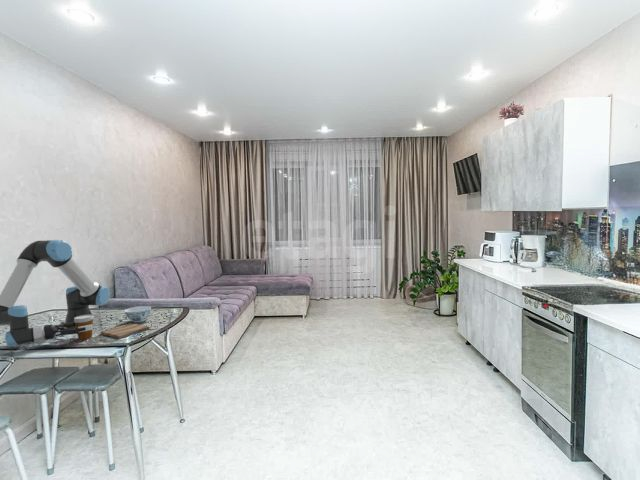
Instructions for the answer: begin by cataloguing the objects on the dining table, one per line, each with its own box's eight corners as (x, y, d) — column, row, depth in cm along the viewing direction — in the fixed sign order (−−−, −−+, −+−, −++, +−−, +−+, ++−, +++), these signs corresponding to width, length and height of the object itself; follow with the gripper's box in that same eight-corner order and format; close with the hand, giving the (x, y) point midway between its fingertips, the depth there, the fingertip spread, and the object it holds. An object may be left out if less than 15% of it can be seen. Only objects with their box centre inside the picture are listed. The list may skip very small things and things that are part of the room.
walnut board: (101, 334, 218) (101, 331, 217) (131, 325, 233) (131, 323, 233) (119, 338, 208) (118, 335, 208) (149, 329, 223) (149, 326, 223)
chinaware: (141, 324, 233) (140, 312, 233) (120, 324, 236) (118, 312, 236) (156, 317, 248) (155, 306, 247) (136, 317, 251) (135, 306, 250)
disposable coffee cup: (81, 336, 216) (79, 315, 215) (98, 334, 217) (96, 313, 216) (71, 341, 206) (69, 319, 205) (90, 340, 207) (88, 318, 206)
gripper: (44, 334, 211) (89, 326, 223) (44, 346, 191) (94, 336, 203) (43, 320, 210) (88, 313, 223) (43, 331, 190) (93, 322, 202)
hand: (91, 324), depth 213 cm, fingers open, 13 cm apart
